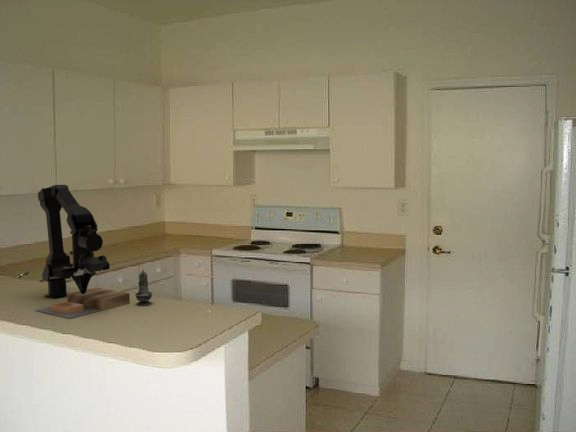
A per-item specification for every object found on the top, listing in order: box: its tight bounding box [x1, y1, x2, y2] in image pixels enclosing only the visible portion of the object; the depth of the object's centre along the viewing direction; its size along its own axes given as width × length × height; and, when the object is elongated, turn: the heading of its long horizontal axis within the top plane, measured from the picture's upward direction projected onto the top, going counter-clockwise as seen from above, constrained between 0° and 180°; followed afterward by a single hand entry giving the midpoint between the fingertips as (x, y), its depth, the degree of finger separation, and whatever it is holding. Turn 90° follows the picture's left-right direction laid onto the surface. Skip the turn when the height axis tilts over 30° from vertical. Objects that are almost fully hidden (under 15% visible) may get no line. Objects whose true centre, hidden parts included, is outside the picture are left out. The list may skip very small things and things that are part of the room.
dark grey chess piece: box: [134, 269, 153, 307], centre depth 199 cm, size 6×6×12 cm
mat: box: [35, 306, 102, 320], centre depth 191 cm, size 18×12×1 cm, turn 56°
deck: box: [66, 286, 131, 312], centre depth 201 cm, size 18×12×4 cm, turn 56°
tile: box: [49, 300, 84, 315], centre depth 190 cm, size 9×6×2 cm, turn 57°
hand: (83, 293), depth 195 cm, fingers closed
